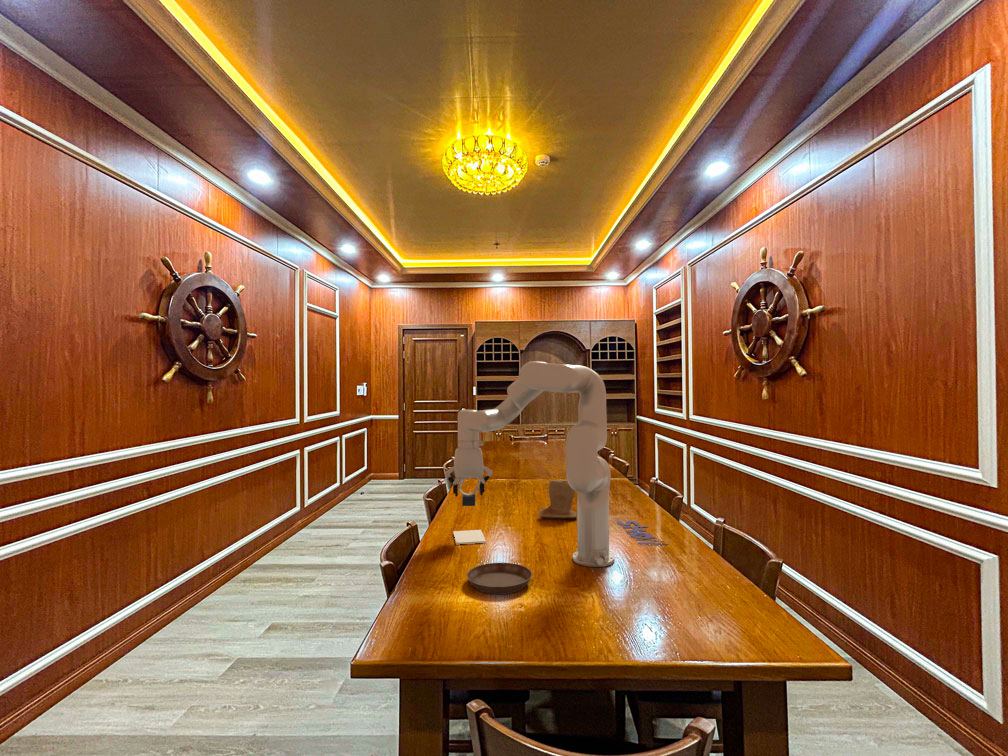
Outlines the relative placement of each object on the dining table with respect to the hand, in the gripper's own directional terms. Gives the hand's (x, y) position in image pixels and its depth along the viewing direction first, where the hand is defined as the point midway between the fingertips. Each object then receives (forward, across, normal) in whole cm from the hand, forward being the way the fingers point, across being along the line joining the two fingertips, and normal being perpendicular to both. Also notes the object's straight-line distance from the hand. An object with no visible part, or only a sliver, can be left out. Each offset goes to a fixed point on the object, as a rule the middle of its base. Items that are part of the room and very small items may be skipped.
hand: (468, 494), depth 176 cm
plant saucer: (+16, -4, +40) cm, 44 cm away
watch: (+3, 0, 0) cm, 3 cm away
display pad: (+15, 0, 0) cm, 15 cm away
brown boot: (+15, -38, -20) cm, 46 cm away
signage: (+16, -61, +5) cm, 63 cm away
